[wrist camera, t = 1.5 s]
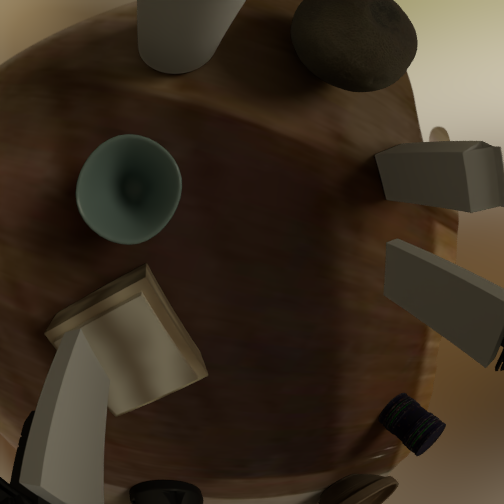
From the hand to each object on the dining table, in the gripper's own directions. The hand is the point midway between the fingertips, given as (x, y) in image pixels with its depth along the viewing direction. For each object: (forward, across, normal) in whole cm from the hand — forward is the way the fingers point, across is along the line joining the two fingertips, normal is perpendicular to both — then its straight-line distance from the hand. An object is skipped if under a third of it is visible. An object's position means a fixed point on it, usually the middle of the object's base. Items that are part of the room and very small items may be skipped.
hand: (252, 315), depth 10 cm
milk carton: (+23, -30, 0) cm, 38 cm away
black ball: (+24, -19, -17) cm, 35 cm away
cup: (+21, +6, -4) cm, 22 cm away
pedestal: (+19, +11, +11) cm, 25 cm away
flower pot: (+15, -19, +88) cm, 91 cm away
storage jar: (+19, -34, +55) cm, 67 cm away
